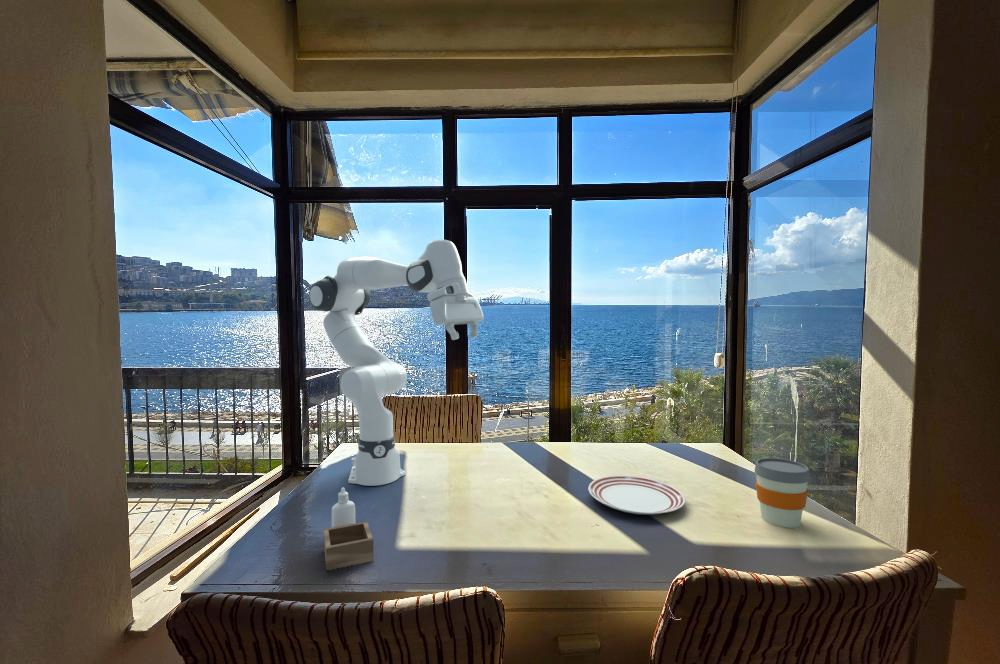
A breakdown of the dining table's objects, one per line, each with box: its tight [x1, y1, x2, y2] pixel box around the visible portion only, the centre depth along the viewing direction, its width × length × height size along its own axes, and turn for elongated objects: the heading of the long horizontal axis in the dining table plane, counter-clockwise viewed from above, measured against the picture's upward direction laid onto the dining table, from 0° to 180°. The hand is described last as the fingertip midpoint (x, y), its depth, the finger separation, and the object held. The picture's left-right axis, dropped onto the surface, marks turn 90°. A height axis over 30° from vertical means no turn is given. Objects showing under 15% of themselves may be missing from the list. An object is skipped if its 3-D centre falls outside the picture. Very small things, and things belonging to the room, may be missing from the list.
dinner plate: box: [587, 474, 686, 516], centre depth 137 cm, size 27×27×3 cm
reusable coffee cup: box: [754, 457, 810, 529], centre depth 124 cm, size 13×13×15 cm
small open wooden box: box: [323, 520, 375, 571], centre depth 107 cm, size 10×10×5 cm
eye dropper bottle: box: [331, 487, 357, 528], centre depth 117 cm, size 4×6×12 cm
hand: (465, 338), depth 133 cm, fingers open, 8 cm apart
